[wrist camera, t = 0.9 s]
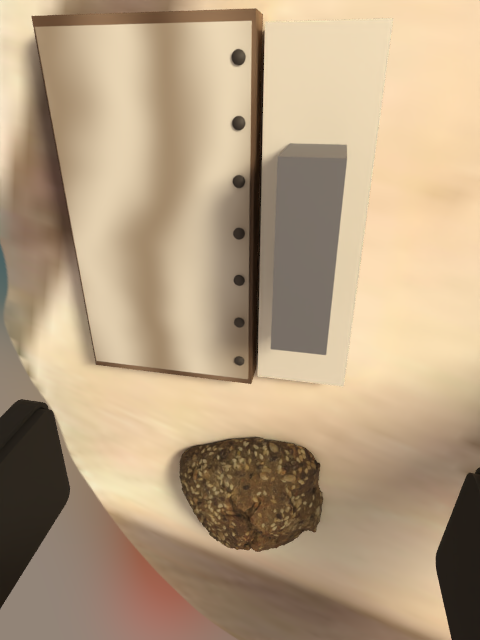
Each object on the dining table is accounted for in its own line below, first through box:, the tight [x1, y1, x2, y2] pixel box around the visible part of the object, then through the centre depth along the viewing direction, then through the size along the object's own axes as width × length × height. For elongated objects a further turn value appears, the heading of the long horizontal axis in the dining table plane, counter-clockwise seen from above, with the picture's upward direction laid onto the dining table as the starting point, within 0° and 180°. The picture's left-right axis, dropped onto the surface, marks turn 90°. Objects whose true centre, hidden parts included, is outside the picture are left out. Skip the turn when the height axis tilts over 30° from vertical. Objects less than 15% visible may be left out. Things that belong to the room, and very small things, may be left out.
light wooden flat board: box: [32, 9, 263, 384], centre depth 28 cm, size 12×22×2 cm, turn 0°
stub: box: [258, 18, 393, 387], centre depth 24 cm, size 6×21×7 cm, turn 0°
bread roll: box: [180, 437, 323, 552], centre depth 37 cm, size 13×12×5 cm
